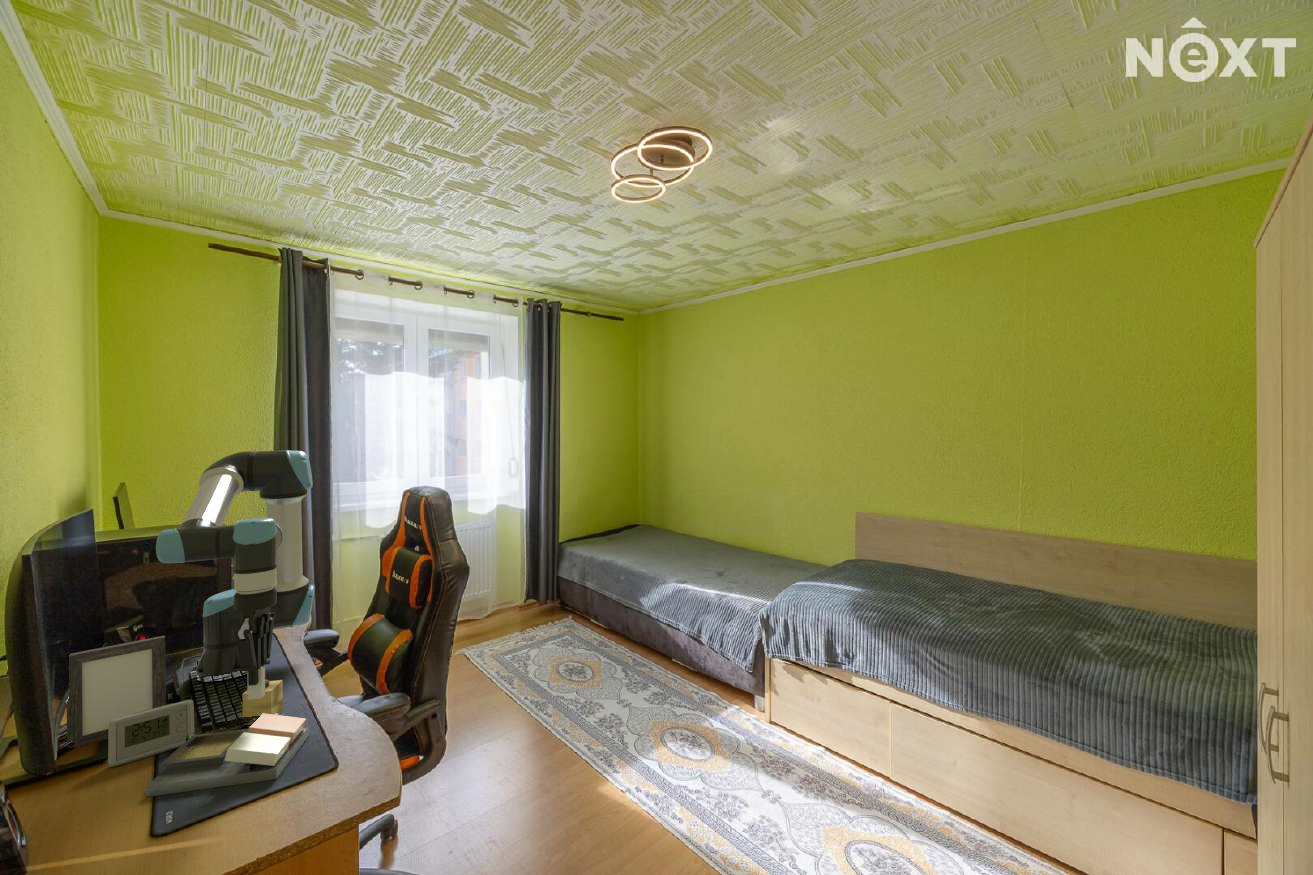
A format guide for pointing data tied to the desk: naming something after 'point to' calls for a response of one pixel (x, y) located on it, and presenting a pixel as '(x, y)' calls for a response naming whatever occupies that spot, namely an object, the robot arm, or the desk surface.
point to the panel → (214, 764)
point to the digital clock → (149, 732)
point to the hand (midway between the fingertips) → (256, 697)
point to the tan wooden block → (265, 700)
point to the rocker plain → (257, 749)
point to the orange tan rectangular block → (278, 726)
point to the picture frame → (113, 686)
